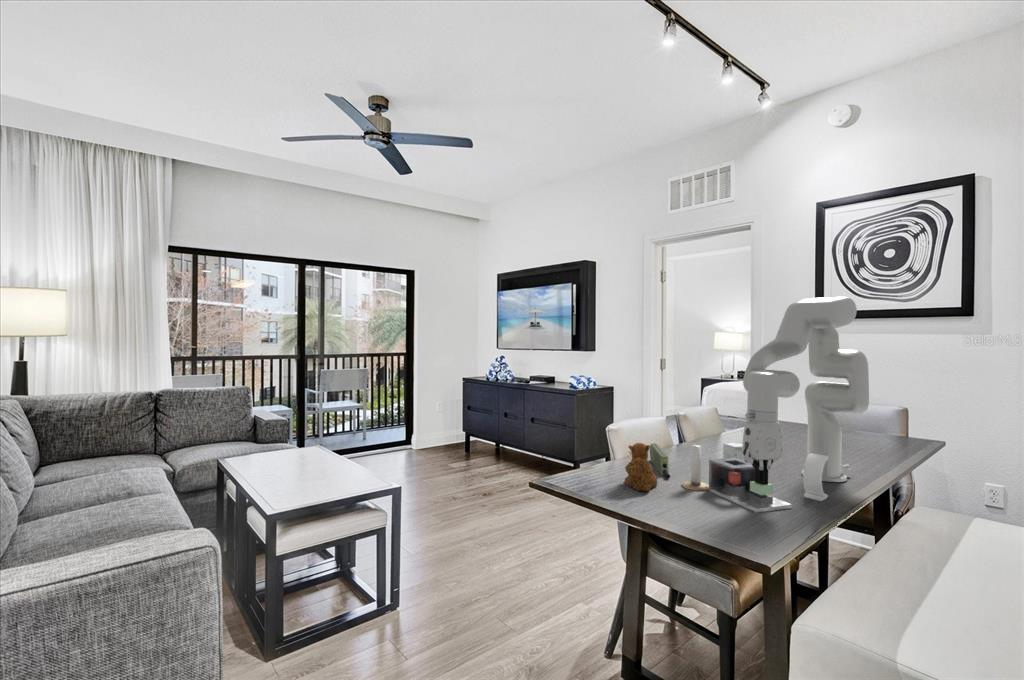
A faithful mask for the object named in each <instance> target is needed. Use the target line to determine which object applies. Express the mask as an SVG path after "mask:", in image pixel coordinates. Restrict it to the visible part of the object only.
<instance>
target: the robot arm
mask: <svg viewBox="0 0 1024 680" xmlns="http://www.w3.org/2000/svg"><path fill="white" fill-rule="evenodd" d="M857 312H858V309H857V305H856V302H855V301H854V300H853V298H851V297H848V296H835V297H811V298H803V299H799V300H796V301H795V302H792V303H791V304H789V305H788V306H787V308H786V310H785V312H784V314H783V318H782V319H781V322H780V325H779V327H778V330H777V332H776V335H775V338H774V339H773V340H772V341H770V342H767V344H765V345H763V346H762V347H761V348H759V350H757V351H756V352H755V353H754V354H753V355H752V356H751V358H750V360H749V361H748V364H747V366H746V368H745V371H744V374H743V378H742V385H743V388H744V390H745V391H746V392H747V400H746V401H747V407H746V411H747V412H746V413H745V415H744V417H745V418H746V421H745V423H744V428H743V434H742V444H743V455H744V456H745V459H744V461H745V462H747V463H750V464H752V466H753V468H755V479H754V481H755V482H756V483H759V484H762V485H765V484H768V483H769V470H771V468H772V465H773V463H775V462H779V460H780V459H781V458H783V456H784V442H783V440H784V438H783V432H782V427H781V423H780V422H779V398H782V399H783V398H784V399H788V398H791V397H793V396H795V395H796V394H797V393H798V391H799V390H800V385H801V382H800V379H799V378H798V376H797V375H796V374H795V373H793V372H792V371H787V370H775V369H766V368H768V367H769V366H771V365H772V364H774V363H776V362H780V361H783V360H786V359H789V358H792V357H795V356H798V355H800V354H803V352H805V350H806V349H807V347H808V366H809V371H810V373H811V375H812V376H814V377H817V378H822V379H831V380H832V379H835V380H846V381H847V382H848V383H846V382H845V383H843V382H835V381H813V382H811V383H809V384H808V385H807V386H806V387H805V389H804V399H805V404H806V411H807V449H806V451H807V452H806V453H807V457H808V455H809V454H810V453H813V454H819V455H824V456H828V460H827V461H826V462H825V465H824V468H823V473H822V482H827V483H828V482H829V483H843V482H847V480H848V477H847V475H846V474H844V472H847V471H851V469H852V466H851V465H850V464H843V463H842V449H843V447H842V445H843V444H842V443H843V442H842V439H843V427H842V422H841V421H840V419H839V417H838V416H837V414H836V413H843V414H850V415H851V414H853V415H861V414H864V413H866V412H867V411H868V409H869V406H870V405H869V404H870V383H869V382H870V380H869V379H870V377H869V374H870V373H869V362H868V358H867V357H866V355H865V353H863V351H860V350H857V349H841V348H840V337H839V336H840V335H839V332H838V330H837V329H839V328H842V327H845V326H847V325H850V324H851V323H853V321H854V319H856V316H857ZM807 457H806V458H807ZM803 470H804V468H803V469H802V470H801V475H802V476H803Z"/></svg>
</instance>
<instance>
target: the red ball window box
mask: <svg viewBox="0 0 1024 680" xmlns="http://www.w3.org/2000/svg"><path fill="white" fill-rule="evenodd" d="M708 463H709V464H708V465H709V467H708V485H709V486H705V488H707V490H706V491H708V492H710V493H712V494H714V495H716V496H719V497H721V498H724V499H725V500H728V501H730V502H732V503H734V504H736V505H739V506H741V507H743V508H745V509H747V510H749V511H752V512H754V513H756V514H757V513H764V512H765V513H766V512H771V511H773V512H774V511H779V510H787V509H792V508H793V504H791V503H789V502H787V501H785V500H784V501H783V500H781V499H779V498H777V497H773V496H771V495H770V494H767V495H766V497H760V496H757V493H755V492H752V491H750V482H751V481H754V479H755V468H753V466H752V464H750V463H747V462H745V461H744V460H743V459H739V458H724V459H723V458H715V459H712V458H711V459H709V460H708ZM729 471H737V472H740V473H741V484H738V486H733V485H732V484H731V483H729V482H728V479H729Z"/></svg>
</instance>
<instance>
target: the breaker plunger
mask: <svg viewBox="0 0 1024 680" xmlns="http://www.w3.org/2000/svg"><path fill="white" fill-rule="evenodd" d="M728 482H729V483H731V484H732V485H733V486H738V484H741V473H740V472H737V471H729V479H728Z"/></svg>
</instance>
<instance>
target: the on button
mask: <svg viewBox="0 0 1024 680" xmlns="http://www.w3.org/2000/svg"><path fill="white" fill-rule="evenodd" d="M750 491H752V492H755V493H757V496H760V497H766V495H773V494H774V484H772V483H770V482H768V484H765V485H762V484H759V483H756V482H755V481H751V482H750Z"/></svg>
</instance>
